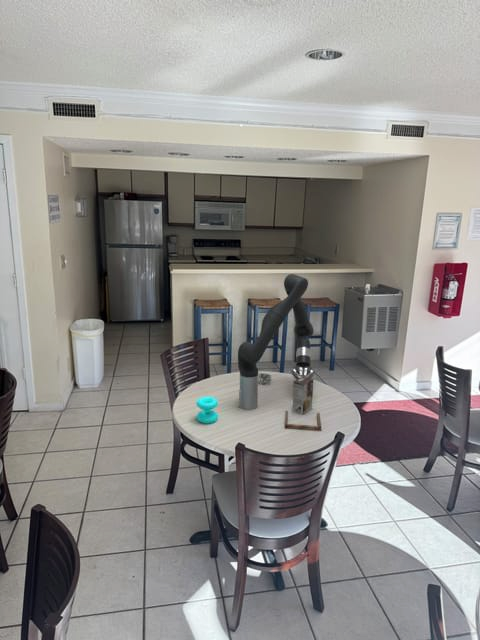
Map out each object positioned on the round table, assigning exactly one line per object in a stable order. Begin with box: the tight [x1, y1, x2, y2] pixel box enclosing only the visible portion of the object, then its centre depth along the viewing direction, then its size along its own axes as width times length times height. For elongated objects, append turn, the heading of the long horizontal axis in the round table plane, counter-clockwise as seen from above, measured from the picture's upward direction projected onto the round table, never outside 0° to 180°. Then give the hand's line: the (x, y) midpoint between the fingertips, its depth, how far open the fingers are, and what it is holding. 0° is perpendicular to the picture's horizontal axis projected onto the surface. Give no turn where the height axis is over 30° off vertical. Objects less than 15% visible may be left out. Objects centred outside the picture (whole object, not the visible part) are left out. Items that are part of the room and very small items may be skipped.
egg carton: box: [258, 372, 272, 386], centre depth 252 cm, size 11×8×4 cm
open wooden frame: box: [284, 410, 322, 432], centre depth 206 cm, size 16×14×2 cm
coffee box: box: [292, 376, 314, 416], centre depth 216 cm, size 9×6×16 cm
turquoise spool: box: [196, 396, 219, 424], centre depth 206 cm, size 10×10×10 cm
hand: (302, 388), depth 225 cm, fingers closed
